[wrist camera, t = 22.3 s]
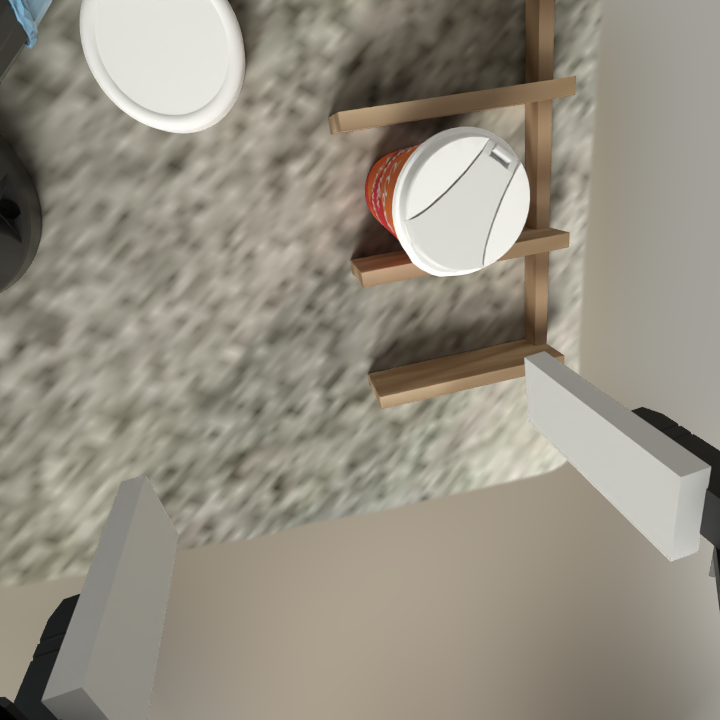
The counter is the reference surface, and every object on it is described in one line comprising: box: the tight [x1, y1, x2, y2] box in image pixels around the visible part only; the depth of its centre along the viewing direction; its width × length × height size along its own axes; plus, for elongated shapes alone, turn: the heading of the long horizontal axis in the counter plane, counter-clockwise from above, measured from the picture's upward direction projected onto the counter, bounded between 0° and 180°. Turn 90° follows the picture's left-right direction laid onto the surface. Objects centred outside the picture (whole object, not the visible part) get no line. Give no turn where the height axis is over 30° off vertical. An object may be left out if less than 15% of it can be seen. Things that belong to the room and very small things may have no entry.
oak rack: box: [328, 0, 576, 409], centre depth 38 cm, size 35×18×5 cm, turn 8°
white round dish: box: [80, 0, 245, 133], centre depth 32 cm, size 10×10×4 cm
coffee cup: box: [365, 127, 530, 277], centre depth 33 cm, size 8×8×15 cm
